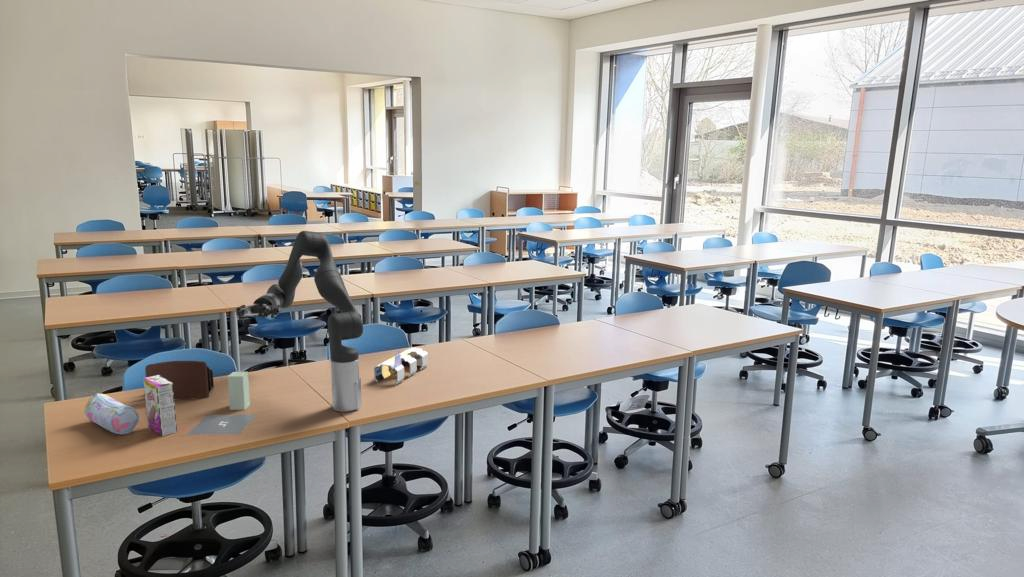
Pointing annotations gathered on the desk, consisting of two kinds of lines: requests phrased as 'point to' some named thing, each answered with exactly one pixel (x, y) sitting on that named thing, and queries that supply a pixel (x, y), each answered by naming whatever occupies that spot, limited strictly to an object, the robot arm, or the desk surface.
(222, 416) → the gray tile
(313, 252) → the robot arm
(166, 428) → the candy bar box
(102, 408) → the pencil case
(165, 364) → the letter holder
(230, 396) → the green block
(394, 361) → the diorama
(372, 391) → the desk surface
